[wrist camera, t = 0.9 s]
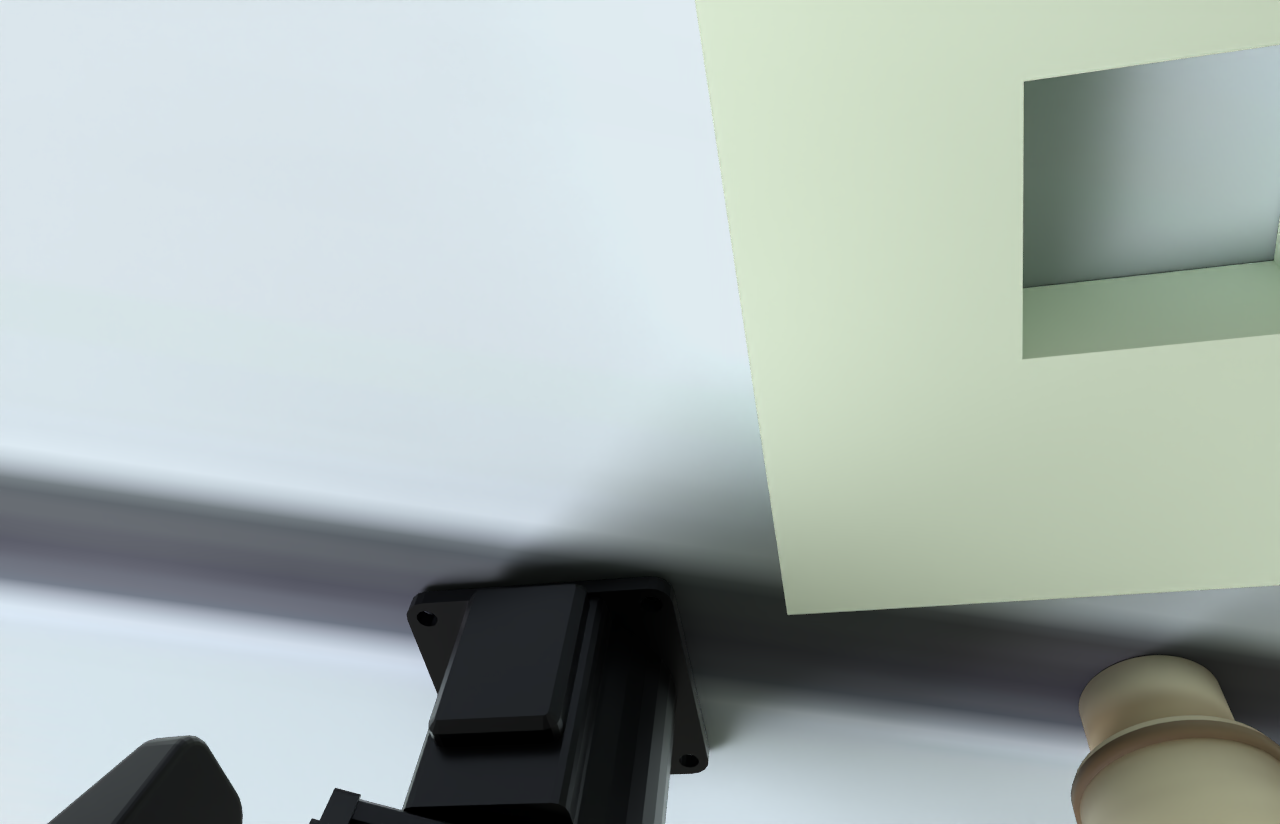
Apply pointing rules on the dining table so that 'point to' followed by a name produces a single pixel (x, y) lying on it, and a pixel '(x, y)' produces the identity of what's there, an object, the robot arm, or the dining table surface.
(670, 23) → the dining table surface
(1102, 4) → the board
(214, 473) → the dining table surface
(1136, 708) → the peg
